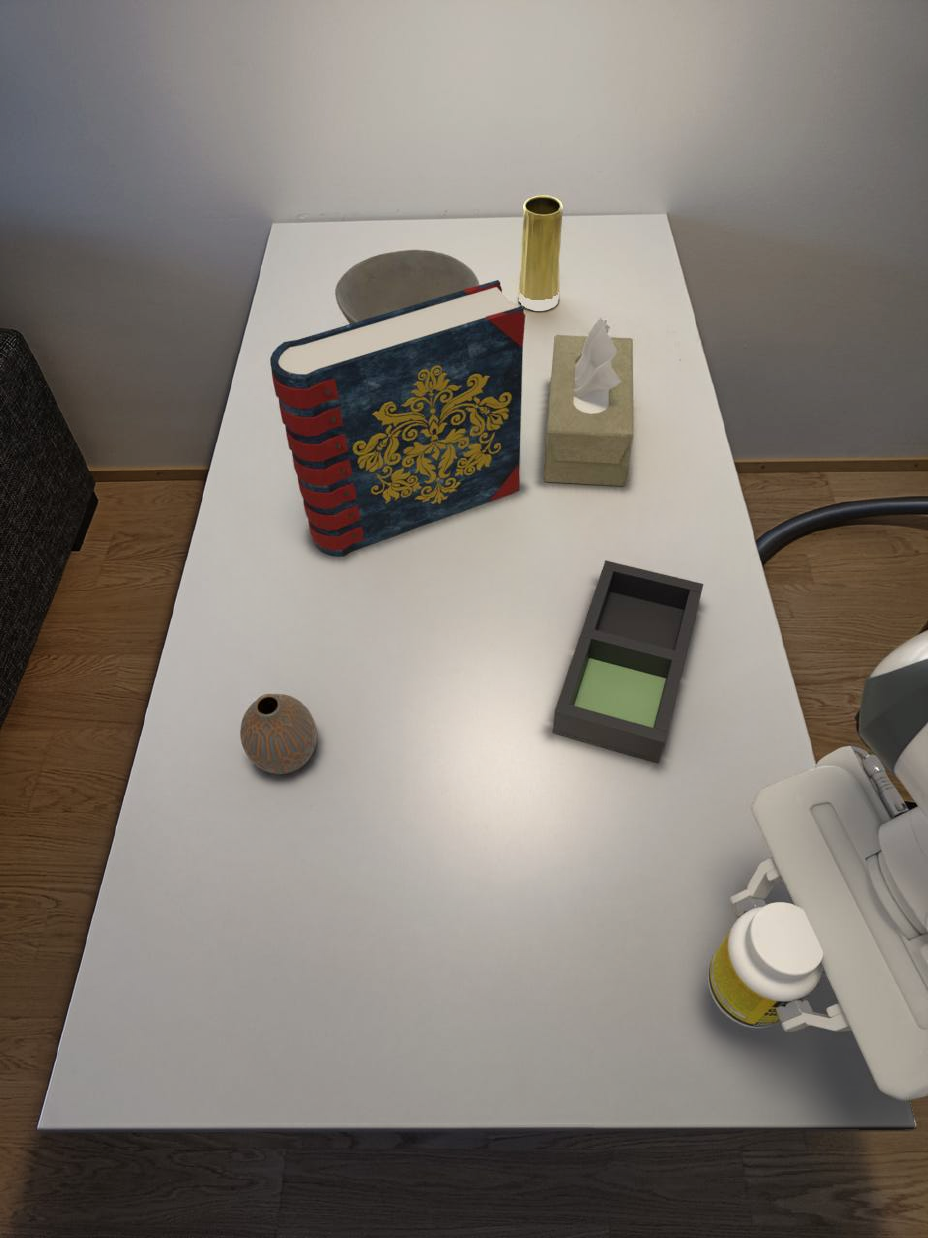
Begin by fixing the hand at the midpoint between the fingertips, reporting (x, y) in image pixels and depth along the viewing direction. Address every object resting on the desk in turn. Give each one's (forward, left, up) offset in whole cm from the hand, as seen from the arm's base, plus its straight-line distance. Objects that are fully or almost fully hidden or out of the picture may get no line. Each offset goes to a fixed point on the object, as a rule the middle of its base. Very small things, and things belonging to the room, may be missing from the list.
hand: (759, 963), depth 61 cm
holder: (+30, +15, -12) cm, 35 cm away
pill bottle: (0, -1, -6) cm, 6 cm away
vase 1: (+10, +44, -13) cm, 46 cm away
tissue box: (+63, +28, -13) cm, 70 cm away
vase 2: (+89, +42, -13) cm, 99 cm away
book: (+44, +44, -13) cm, 63 cm away
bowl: (+72, +55, -13) cm, 91 cm away
